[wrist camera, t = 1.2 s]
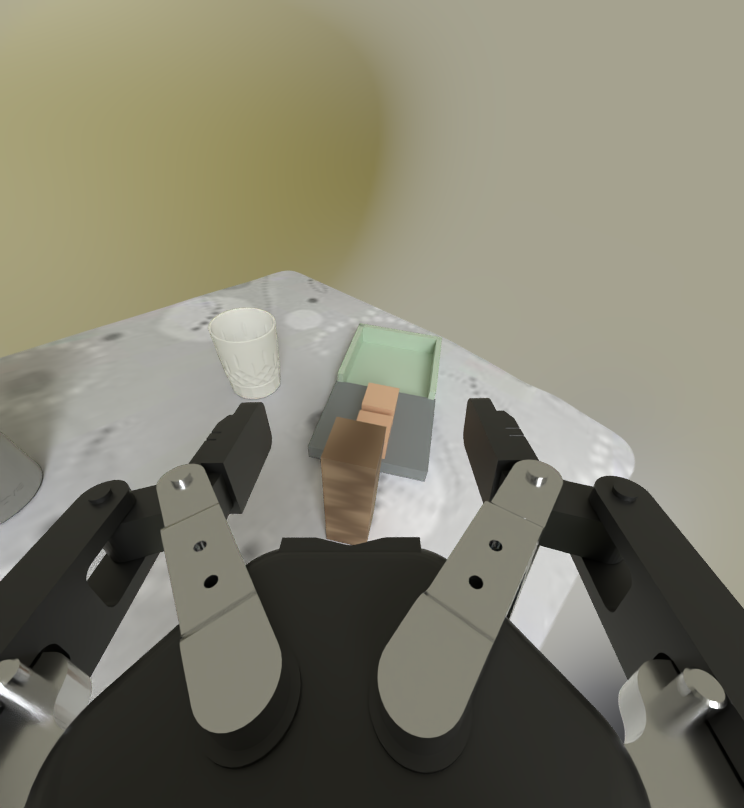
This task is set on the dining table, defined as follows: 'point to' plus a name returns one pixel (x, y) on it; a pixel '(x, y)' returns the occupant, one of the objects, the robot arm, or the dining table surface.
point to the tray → (393, 360)
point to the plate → (407, 430)
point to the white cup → (248, 350)
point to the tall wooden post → (351, 478)
